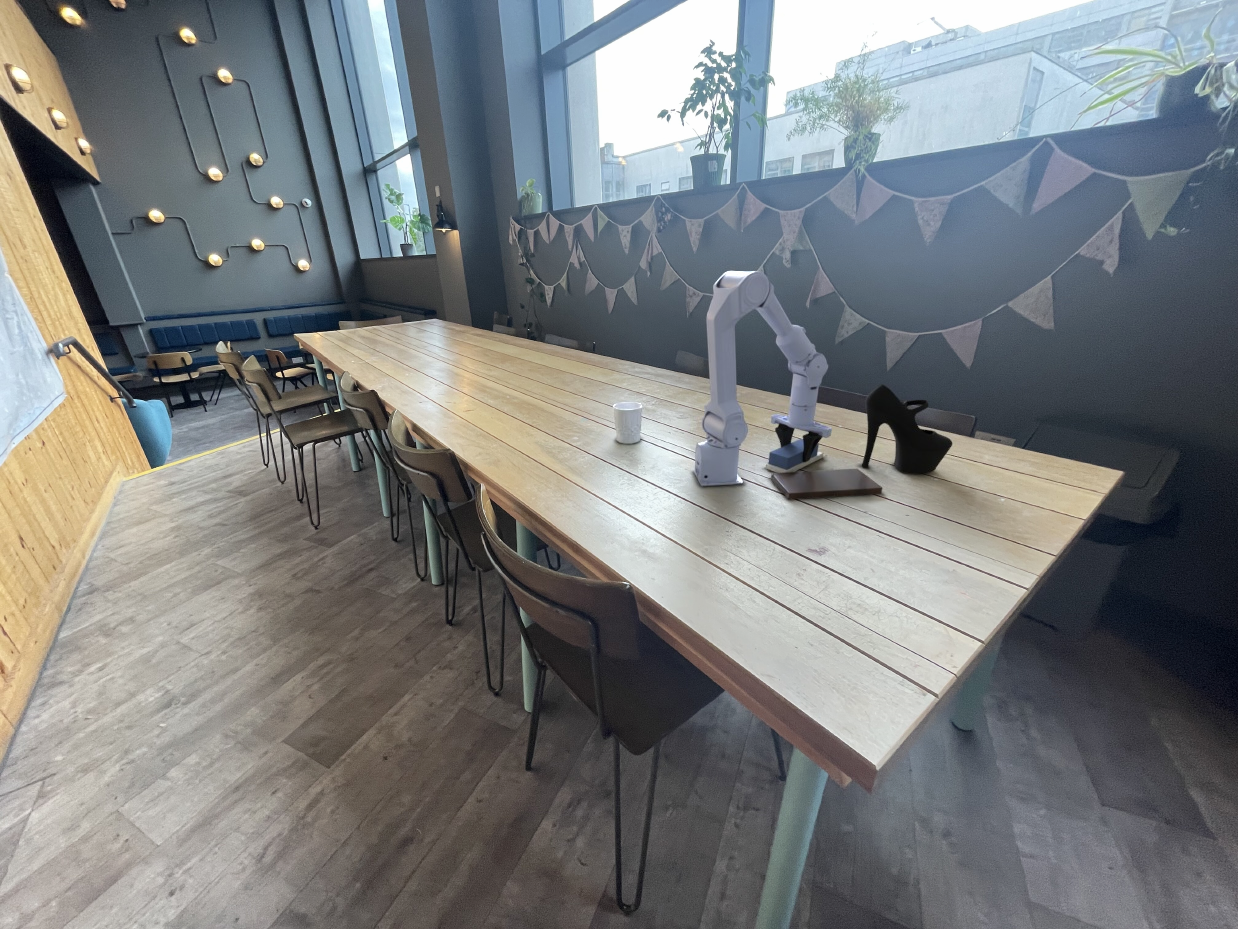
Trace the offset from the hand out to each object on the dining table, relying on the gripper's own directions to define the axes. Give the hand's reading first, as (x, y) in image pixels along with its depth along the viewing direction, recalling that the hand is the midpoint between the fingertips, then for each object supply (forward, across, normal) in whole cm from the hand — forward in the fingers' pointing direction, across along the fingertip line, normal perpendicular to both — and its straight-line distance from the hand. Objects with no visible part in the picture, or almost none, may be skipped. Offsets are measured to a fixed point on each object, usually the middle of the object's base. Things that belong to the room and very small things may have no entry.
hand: (795, 457), depth 114 cm
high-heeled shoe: (+2, -18, -15) cm, 23 cm away
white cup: (+2, +40, +19) cm, 45 cm away
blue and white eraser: (+1, 0, 0) cm, 1 cm away
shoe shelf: (+1, -11, +7) cm, 13 cm away
